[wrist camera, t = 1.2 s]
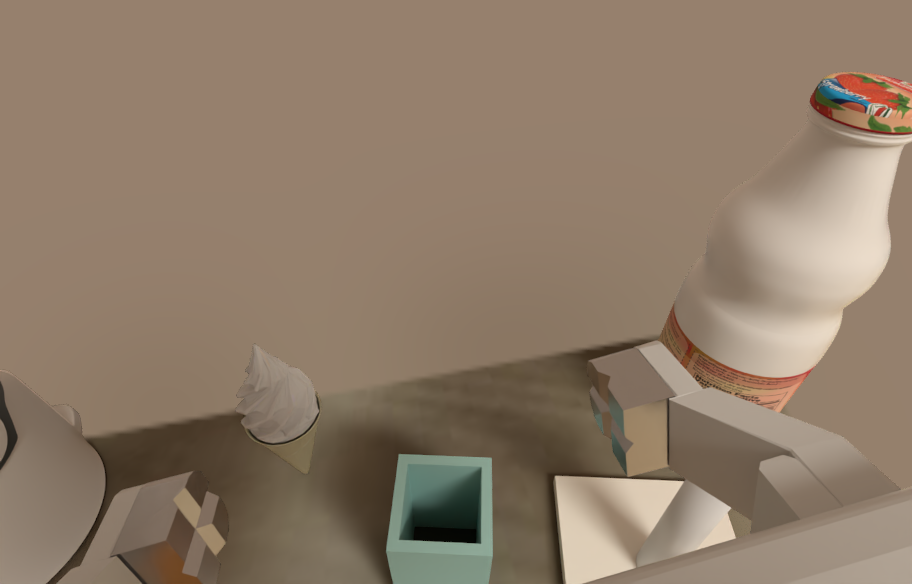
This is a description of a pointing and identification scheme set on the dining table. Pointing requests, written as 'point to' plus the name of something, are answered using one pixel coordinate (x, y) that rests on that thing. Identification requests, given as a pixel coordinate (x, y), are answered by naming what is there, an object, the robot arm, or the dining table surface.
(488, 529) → the sleeve
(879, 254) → the fruit juice
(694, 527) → the post stand
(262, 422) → the ice cream cone
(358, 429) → the dining table surface
